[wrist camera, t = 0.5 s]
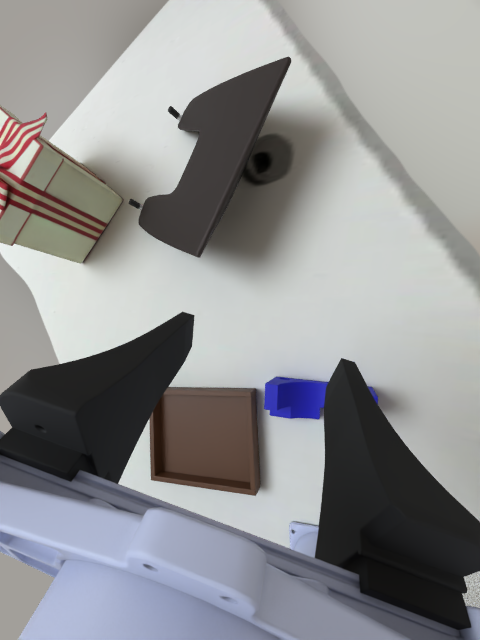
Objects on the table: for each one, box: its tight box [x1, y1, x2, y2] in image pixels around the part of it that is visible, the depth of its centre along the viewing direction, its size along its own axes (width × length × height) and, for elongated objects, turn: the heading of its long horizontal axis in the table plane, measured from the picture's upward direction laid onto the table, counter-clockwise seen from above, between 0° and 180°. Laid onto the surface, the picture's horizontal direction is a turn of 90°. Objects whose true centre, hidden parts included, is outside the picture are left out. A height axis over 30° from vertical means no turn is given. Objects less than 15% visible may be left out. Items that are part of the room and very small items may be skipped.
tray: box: [150, 387, 260, 496], centre depth 41 cm, size 13×16×2 cm
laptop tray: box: [129, 57, 291, 258], centre depth 40 cm, size 23×23×9 cm
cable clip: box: [264, 377, 378, 419], centre depth 34 cm, size 12×4×6 cm, turn 87°
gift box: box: [0, 106, 123, 263], centre depth 45 cm, size 17×18×17 cm
